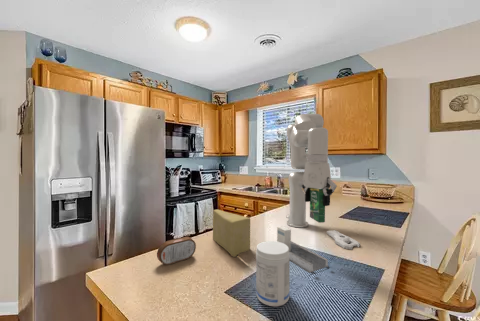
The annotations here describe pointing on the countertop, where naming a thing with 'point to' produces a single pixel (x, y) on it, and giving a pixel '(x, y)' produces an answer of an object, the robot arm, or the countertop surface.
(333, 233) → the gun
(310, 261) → the rail
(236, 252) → the cheese
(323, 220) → the coffee box
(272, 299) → the supplement tub
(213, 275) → the countertop surface
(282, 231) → the small white carton
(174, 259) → the tin
